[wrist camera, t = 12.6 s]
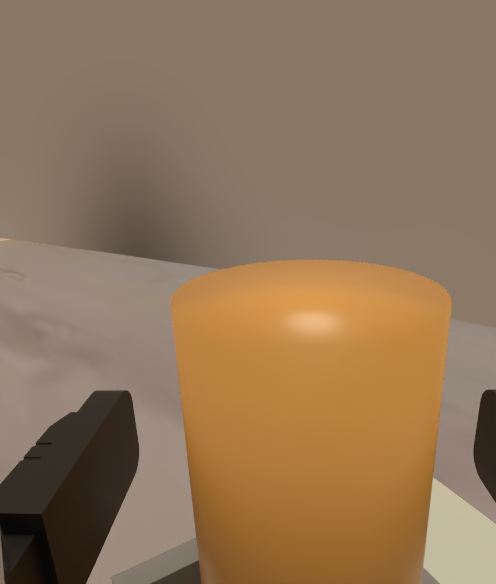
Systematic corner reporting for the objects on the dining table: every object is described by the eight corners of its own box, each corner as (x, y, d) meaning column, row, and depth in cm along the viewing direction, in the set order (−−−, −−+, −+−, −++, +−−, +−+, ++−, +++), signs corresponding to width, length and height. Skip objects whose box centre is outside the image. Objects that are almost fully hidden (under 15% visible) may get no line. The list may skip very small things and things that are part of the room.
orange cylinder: (323, 582, 14) (326, 251, 11) (447, 752, 10) (520, 298, 7) (190, 662, 12) (141, 282, 9) (277, 922, 8) (248, 383, 4)
